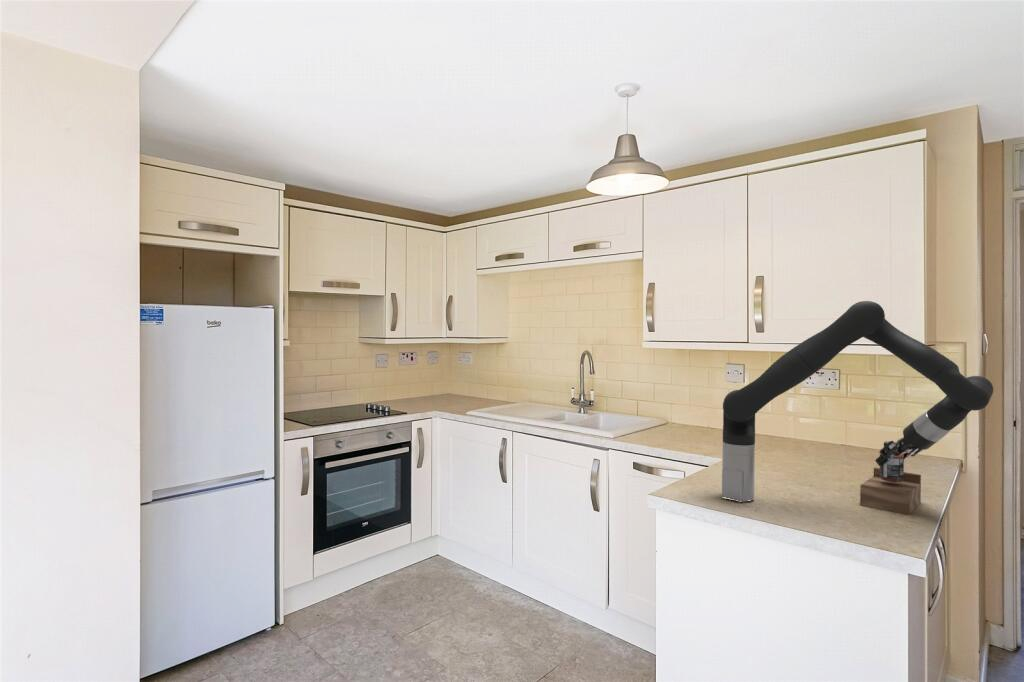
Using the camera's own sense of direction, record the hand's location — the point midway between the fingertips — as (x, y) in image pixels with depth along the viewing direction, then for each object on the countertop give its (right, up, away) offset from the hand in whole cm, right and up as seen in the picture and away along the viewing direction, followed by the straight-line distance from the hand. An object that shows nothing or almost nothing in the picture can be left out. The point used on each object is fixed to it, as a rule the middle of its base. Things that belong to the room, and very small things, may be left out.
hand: (885, 462), depth 167 cm
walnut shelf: (0, -12, -1) cm, 12 cm away
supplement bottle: (+1, -5, -2) cm, 5 cm away
